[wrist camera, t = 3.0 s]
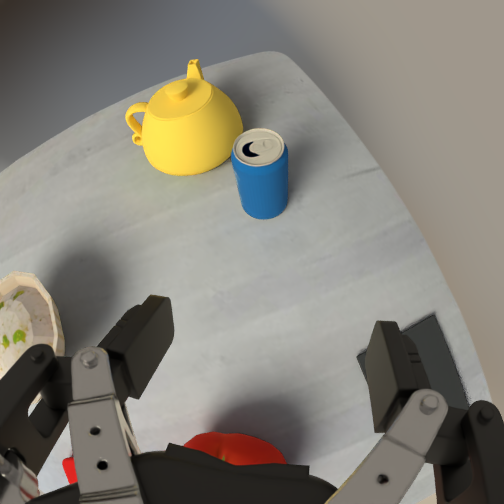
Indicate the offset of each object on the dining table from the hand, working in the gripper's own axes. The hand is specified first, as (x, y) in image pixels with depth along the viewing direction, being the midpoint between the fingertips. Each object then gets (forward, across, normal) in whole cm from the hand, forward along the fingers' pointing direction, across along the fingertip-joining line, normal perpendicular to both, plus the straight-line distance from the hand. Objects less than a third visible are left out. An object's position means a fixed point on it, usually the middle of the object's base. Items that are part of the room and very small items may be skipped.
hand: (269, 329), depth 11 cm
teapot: (+42, +18, -5) cm, 46 cm away
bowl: (+14, +34, +22) cm, 43 cm away
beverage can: (+33, +4, +4) cm, 34 cm away
